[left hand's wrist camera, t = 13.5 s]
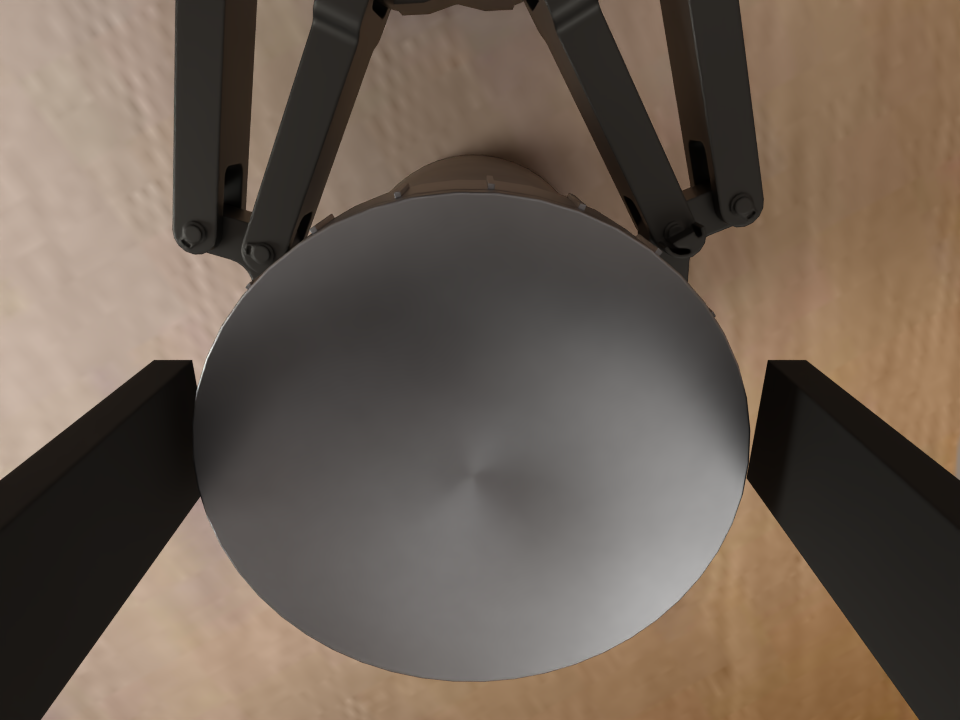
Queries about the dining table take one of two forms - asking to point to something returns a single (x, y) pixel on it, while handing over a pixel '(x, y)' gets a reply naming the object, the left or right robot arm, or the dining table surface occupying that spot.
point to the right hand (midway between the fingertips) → (480, 446)
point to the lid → (471, 433)
